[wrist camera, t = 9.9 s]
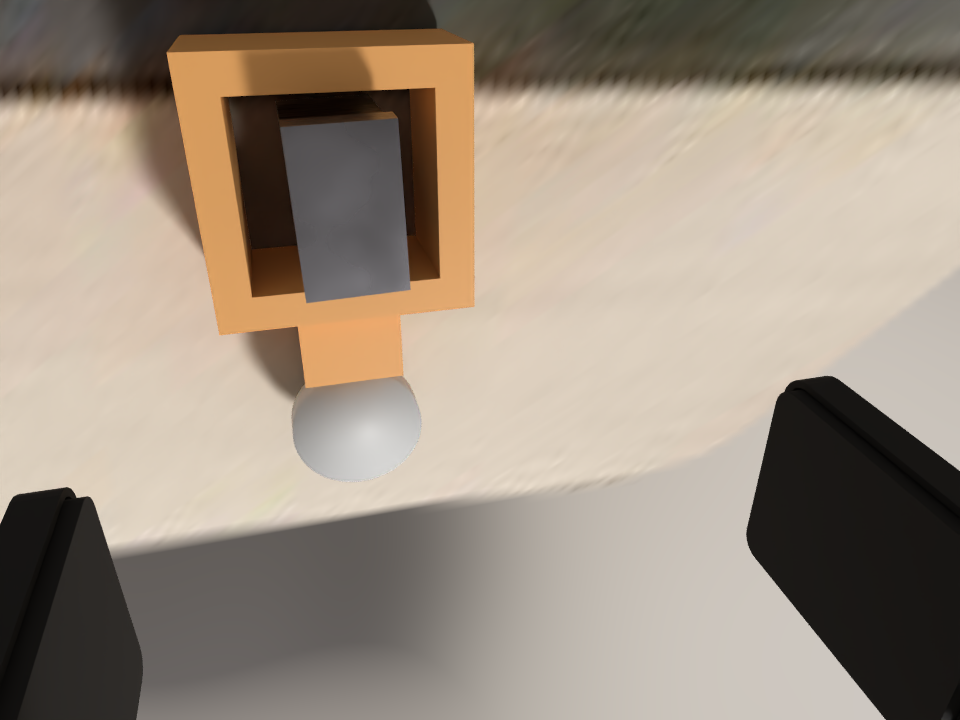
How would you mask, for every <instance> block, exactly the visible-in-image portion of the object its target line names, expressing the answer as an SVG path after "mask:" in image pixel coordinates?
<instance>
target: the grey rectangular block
mask: <svg viewBox="0 0 960 720" xmlns="http://www.w3.org/2000/svg"><path fill="white" fill-rule="evenodd" d="M275 101H276V108H277V114H278V121H279V128H280V135H281V141H282V148H283V155H284V161H285V168H286V175H287V181H288V188H289V195H290V202H291V208H292V215H293V222H294V228H295V234H296V241H297V247H298V253H299V259H300V266H301V272H302V278H303V285H304V292H305V298H306V303H313V302H320V301H328V300H336V299H344V298H352V297H360V296H367V295H375V294H383V293H391V292H399V291H407V290H411V288H410V274H409V260H408V247H407V233H406V220H405V206H404V192H403V179H402V165H401V151H400V138H399V124H398V117H397V116H396V115H395V114H394V113H393V112H392V111H390V112H382V111H381V109H380V108H379V107H378V106H377V104H376V103H375V102H374V101H373V99H372V98H371V97H370V95H369V94H358V95H343V96H329V97H314V98H300V99H286V100H275Z"/></svg>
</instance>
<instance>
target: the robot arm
mask: <svg viewBox="0 0 960 720" xmlns="http://www.w3.org/2000/svg"><path fill="white" fill-rule="evenodd" d="M746 535H747V542H748V546H749V548H750V550H751V553H752V554H753V556H754V557H755V558H756V560H757V561H758V562H759V563H760V565H761V566H762V567H763V568H764V569H765V571H766V572H767V573H768V574H769V576H770V577H771V578H772V579H773V581H774V582H775V583H776V584H777V585H778V587H779V588H780V589H781V591H782V592H783V593H784V594H785V595H786V597H787V598H788V599H789V600H790V602H791V603H792V604H793V605H794V607H795V608H796V609H797V610H798V612H799V613H800V614H801V615H802V616H803V618H804V619H805V620H806V622H807V623H808V624H809V625H810V626H811V628H812V629H813V630H814V631H815V633H816V634H817V635H818V636H819V637H820V639H821V640H822V641H823V642H824V644H825V645H826V646H827V647H828V649H829V650H830V651H831V652H832V654H833V655H834V656H835V657H836V659H837V660H838V661H839V662H840V664H841V665H842V666H843V667H844V668H845V669H846V671H847V672H848V673H849V675H850V676H851V677H852V678H853V680H854V681H855V682H856V683H857V685H858V686H859V687H860V688H861V690H862V691H863V692H864V693H865V694H866V696H867V697H868V698H869V699H870V701H871V702H872V703H873V704H874V706H875V707H876V708H877V709H878V710H879V712H880V713H881V714H882V715H883V717H884V718H885V719H886V720H960V471H959V470H957V469H956V468H955V467H954V466H952V465H951V464H950V463H948V462H947V461H946V460H944V459H943V458H942V457H940V456H939V455H938V454H936V453H935V452H934V451H933V450H931V449H930V448H929V447H927V446H926V445H925V444H923V443H922V442H921V441H919V440H918V439H917V438H915V437H914V436H913V435H911V434H910V433H909V432H907V431H906V430H905V429H903V428H902V427H901V426H899V425H898V424H897V423H895V422H894V421H893V420H891V419H890V418H889V417H887V416H886V415H885V414H884V413H882V412H881V411H879V410H878V409H877V408H876V407H874V406H873V405H872V404H870V403H869V402H868V401H866V400H865V399H864V398H862V397H861V396H860V395H858V394H857V393H856V392H854V391H853V390H852V389H850V388H849V387H848V386H846V385H845V384H844V383H843V382H841V381H840V380H838V379H836V378H835V377H832V376H823V377H816V378H809V379H803V380H796V381H793V382H791V383H790V384H789V385H788V386H787V387H786V389H785V392H784V393H781V394H780V395H779V397H778V398H777V401H776V405H775V409H774V413H773V418H772V422H771V427H770V431H769V435H768V440H767V444H766V448H765V453H764V457H763V461H762V466H761V470H760V474H759V479H758V483H757V487H756V492H755V496H754V500H753V505H752V510H751V513H750V518H749V522H748V526H747V533H746ZM142 676H143V665H142V654H141V650H140V645H139V642H138V639H137V636H136V633H135V630H134V627H133V624H132V620H131V618H130V614H129V611H128V608H127V605H126V602H125V599H124V595H123V592H122V589H121V586H120V583H119V580H118V577H117V574H116V571H115V567H114V564H113V561H112V558H111V555H110V552H109V549H108V545H107V542H106V539H105V536H104V533H103V530H102V527H101V524H100V520H99V517H98V514H97V511H96V508H95V505H94V503H93V501H92V499H91V498H90V497H81V498H76V495H75V493H74V492H73V491H72V489H71V488H68V487H66V488H59V489H52V490H45V491H38V492H31V493H25V494H18V495H16V496H14V497H13V498H12V500H11V501H10V503H9V506H8V508H7V510H6V512H5V515H4V517H3V519H2V522H1V524H0V720H136V717H137V710H138V703H139V697H140V691H141V684H142Z"/></svg>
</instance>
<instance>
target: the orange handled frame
mask: <svg viewBox="0 0 960 720" xmlns="http://www.w3.org/2000/svg"><path fill="white" fill-rule="evenodd" d="M167 58H168V63H169V69H170V74H171V79H172V85H173V90H174V95H175V101H176V106H177V111H178V117H179V122H180V127H181V133H182V138H183V143H184V149H185V154H186V159H187V165H188V170H189V175H190V181H191V186H192V191H193V197H194V202H195V207H196V213H197V218H198V223H199V229H200V234H201V239H202V245H203V250H204V255H205V261H206V266H207V271H208V277H209V282H210V287H211V293H212V298H213V303H214V309H215V314H216V319H217V325H218V330H219V335H226V334H235V333H244V332H253V331H262V330H271V329H280V328H288V327H297V326H298V333H299V340H300V348H301V356H302V363H303V371H304V379H305V384H304V385H303V387H302V388H301V389H300V391H299V393H298V394H297V396H296V399H295V401H294V404H293V408H292V428H293V439H294V444H295V448H296V450H297V453H298V454H299V456H300V458H301V459H302V460H303V462H304V463H305V464H306V465H307V466H308V467H309V468H310V469H311V470H313V471H315V472H316V473H318V474H320V475H322V476H324V477H326V478H329V479H332V480H337V481H343V482H359V481H366V480H371V479H374V478H377V477H380V476H382V475H384V474H387V473H388V472H390V471H392V470H394V469H395V468H396V467H398V466H399V465H400V464H401V463H402V462H404V461H405V460H406V459H407V457H408V456H409V455H410V454H411V452H412V451H413V449H414V448H415V446H416V444H417V442H418V439H419V436H420V432H421V414H420V410H419V407H418V404H417V402H416V399H415V396H414V393H413V391H412V389H411V387H410V385H409V384H408V382H407V381H406V379H405V378H404V377H403V360H402V342H401V324H400V315H404V314H413V313H422V312H431V311H440V310H449V309H458V308H467V307H474V43H472V42H469V41H467V40H465V39H463V38H461V37H458V36H456V35H454V34H452V33H450V32H447V31H445V30H443V29H406V30H366V31H326V32H285V33H245V34H204V35H179V36H178V38H177V39H176V40H175V42H174V43H173V45H172V46H171V47H170V49H169V50H168V51H167ZM393 89H409V90H410V114H411V138H412V162H413V186H414V210H415V234H416V235H410V236H407V247H408V260H409V274H410V288H411V290H407V291H399V292H391V293H383V294H375V295H367V296H360V297H352V298H344V299H336V300H328V301H320V302H313V303H306V298H305V292H304V285H303V278H302V272H301V266H300V259H299V253H298V247H297V245H296V246H285V247H274V248H262V249H252V248H251V242H250V235H249V229H248V222H247V216H246V209H245V203H244V196H243V190H242V183H241V177H240V170H239V164H238V157H237V151H236V144H235V138H234V131H233V125H232V119H231V112H230V106H229V99H228V97H230V96H253V95H276V94H300V93H323V92H346V91H369V90H393Z"/></svg>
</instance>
